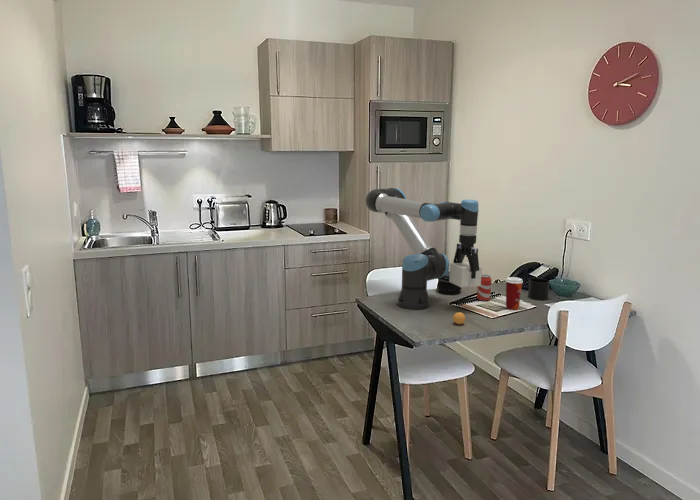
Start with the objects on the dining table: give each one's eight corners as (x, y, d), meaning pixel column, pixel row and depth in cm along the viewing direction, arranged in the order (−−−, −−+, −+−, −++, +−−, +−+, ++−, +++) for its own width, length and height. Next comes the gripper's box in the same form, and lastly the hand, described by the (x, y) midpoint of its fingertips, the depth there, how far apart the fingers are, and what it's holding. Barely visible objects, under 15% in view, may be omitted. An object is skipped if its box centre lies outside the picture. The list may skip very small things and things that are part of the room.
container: (457, 288, 278) (458, 270, 276) (464, 295, 266) (465, 276, 264) (434, 288, 277) (435, 270, 276) (440, 295, 265) (440, 276, 263)
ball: (452, 325, 220) (452, 313, 219) (453, 321, 224) (454, 310, 223) (464, 326, 218) (464, 314, 217) (465, 322, 223) (466, 311, 222)
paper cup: (521, 310, 241) (524, 281, 238) (504, 309, 242) (506, 280, 240) (519, 306, 248) (522, 277, 246) (503, 304, 250) (505, 276, 247)
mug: (554, 297, 263) (556, 280, 262) (540, 301, 257) (542, 283, 255) (538, 293, 271) (539, 276, 269) (524, 297, 264) (525, 279, 262)
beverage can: (484, 302, 254) (486, 278, 252) (474, 299, 259) (475, 275, 257) (492, 300, 257) (494, 276, 255) (482, 297, 263) (483, 273, 260)
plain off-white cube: (461, 287, 234) (462, 268, 233) (449, 281, 244) (450, 263, 242) (480, 285, 238) (482, 266, 236) (468, 280, 247) (469, 262, 246)
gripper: (490, 238, 227) (486, 287, 232) (461, 230, 248) (458, 275, 253) (475, 239, 225) (471, 289, 229) (447, 230, 246) (444, 276, 250)
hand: (464, 282), depth 241 cm, fingers closed on plain off-white cube, 10 cm apart
